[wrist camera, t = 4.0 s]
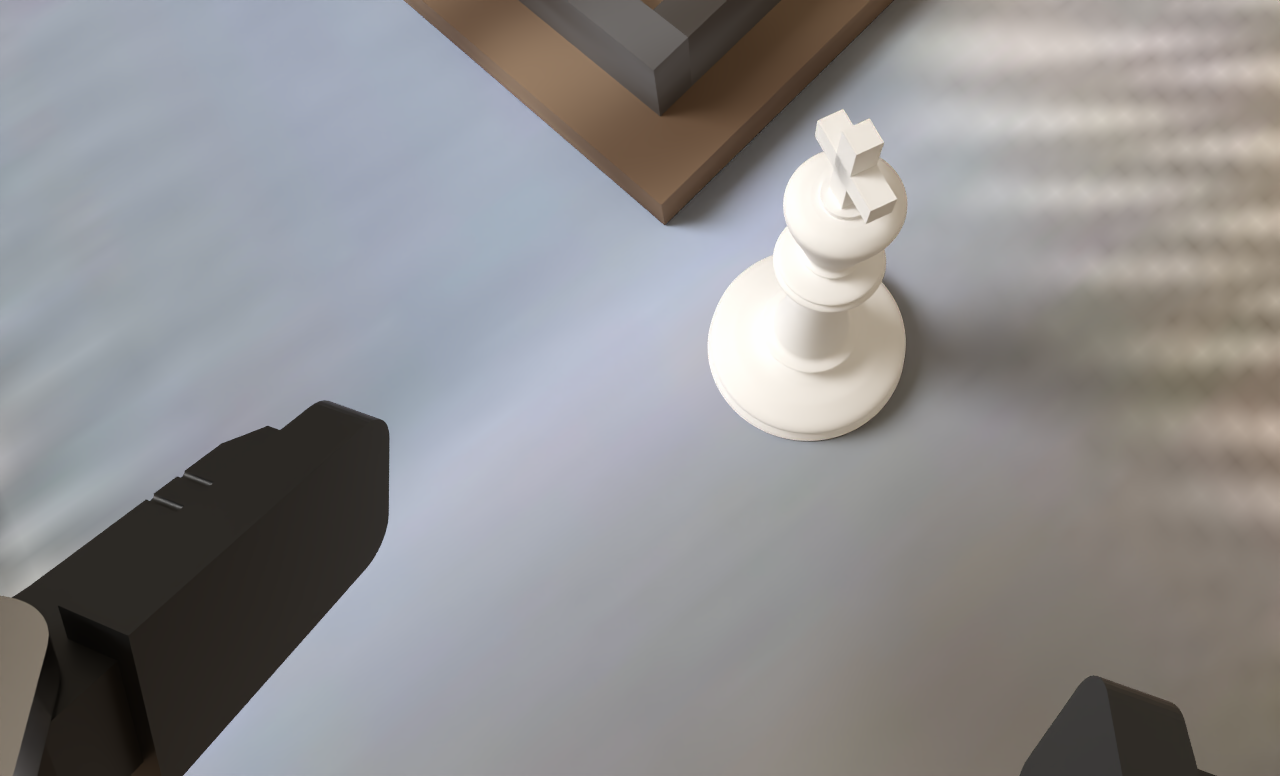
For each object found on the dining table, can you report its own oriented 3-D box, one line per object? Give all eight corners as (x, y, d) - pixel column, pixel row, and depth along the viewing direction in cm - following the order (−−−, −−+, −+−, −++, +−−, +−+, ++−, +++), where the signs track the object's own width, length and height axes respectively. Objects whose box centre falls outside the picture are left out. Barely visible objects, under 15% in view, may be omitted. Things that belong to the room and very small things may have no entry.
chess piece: (847, 226, 22) (933, -62, 13) (940, 390, 21) (1114, 206, 12) (676, 304, 22) (635, 74, 13) (759, 473, 21) (783, 358, 11)
